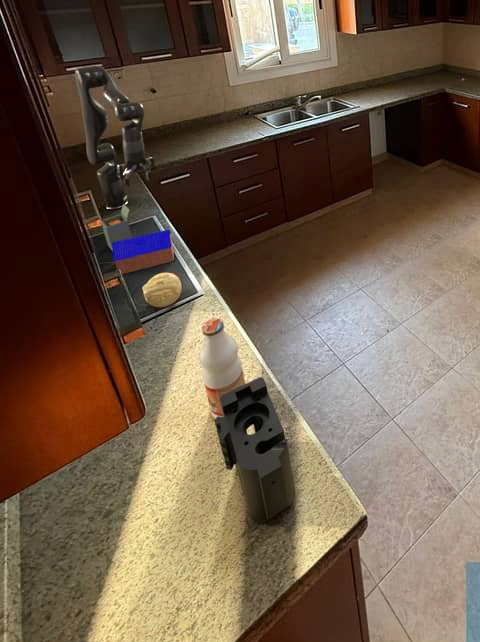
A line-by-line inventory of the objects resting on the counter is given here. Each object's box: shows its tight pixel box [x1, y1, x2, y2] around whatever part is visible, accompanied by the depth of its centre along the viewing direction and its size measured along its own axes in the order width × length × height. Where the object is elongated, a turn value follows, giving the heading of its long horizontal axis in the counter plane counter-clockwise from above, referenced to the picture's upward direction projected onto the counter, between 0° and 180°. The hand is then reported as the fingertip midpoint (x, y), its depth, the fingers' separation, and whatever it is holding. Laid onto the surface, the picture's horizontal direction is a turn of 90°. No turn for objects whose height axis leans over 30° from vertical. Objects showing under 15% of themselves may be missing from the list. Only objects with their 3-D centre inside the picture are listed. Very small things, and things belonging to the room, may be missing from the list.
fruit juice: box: [198, 317, 246, 420], centre depth 110 cm, size 9×9×28 cm
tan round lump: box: [142, 272, 183, 308], centre depth 151 cm, size 12×12×11 cm
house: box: [112, 229, 175, 275], centre depth 174 cm, size 12×20×12 cm, turn 117°
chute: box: [101, 213, 133, 252], centre depth 184 cm, size 8×8×12 cm
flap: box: [120, 204, 131, 220], centre depth 184 cm, size 8×4×1 cm
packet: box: [108, 220, 122, 226], centre depth 184 cm, size 4×3×11 cm
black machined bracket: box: [214, 376, 296, 526], centre depth 92 cm, size 12×21×22 cm, turn 34°
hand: (138, 182), depth 186 cm, fingers open, 8 cm apart
